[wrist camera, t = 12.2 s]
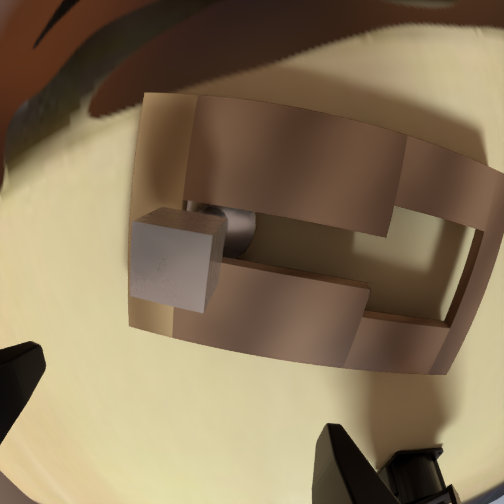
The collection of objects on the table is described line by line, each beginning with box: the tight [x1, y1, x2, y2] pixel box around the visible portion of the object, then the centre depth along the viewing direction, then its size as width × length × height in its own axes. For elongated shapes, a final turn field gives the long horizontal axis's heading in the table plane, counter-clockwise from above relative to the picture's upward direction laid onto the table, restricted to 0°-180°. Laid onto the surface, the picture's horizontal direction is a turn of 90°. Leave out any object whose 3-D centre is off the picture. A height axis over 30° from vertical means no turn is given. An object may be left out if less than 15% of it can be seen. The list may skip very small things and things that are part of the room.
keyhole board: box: [128, 93, 504, 375], centre depth 17 cm, size 22×14×3 cm, turn 81°
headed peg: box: [130, 201, 257, 313], centre depth 15 cm, size 5×5×8 cm
